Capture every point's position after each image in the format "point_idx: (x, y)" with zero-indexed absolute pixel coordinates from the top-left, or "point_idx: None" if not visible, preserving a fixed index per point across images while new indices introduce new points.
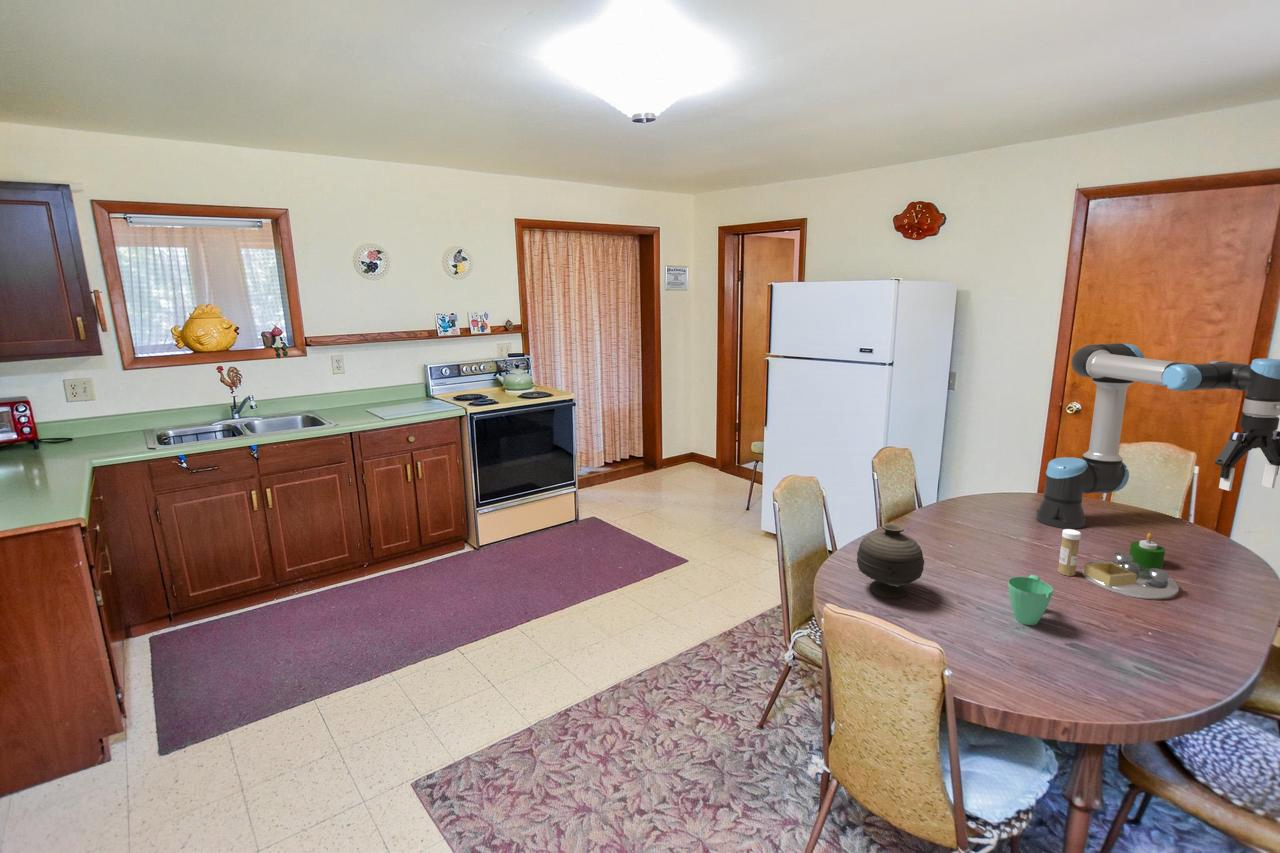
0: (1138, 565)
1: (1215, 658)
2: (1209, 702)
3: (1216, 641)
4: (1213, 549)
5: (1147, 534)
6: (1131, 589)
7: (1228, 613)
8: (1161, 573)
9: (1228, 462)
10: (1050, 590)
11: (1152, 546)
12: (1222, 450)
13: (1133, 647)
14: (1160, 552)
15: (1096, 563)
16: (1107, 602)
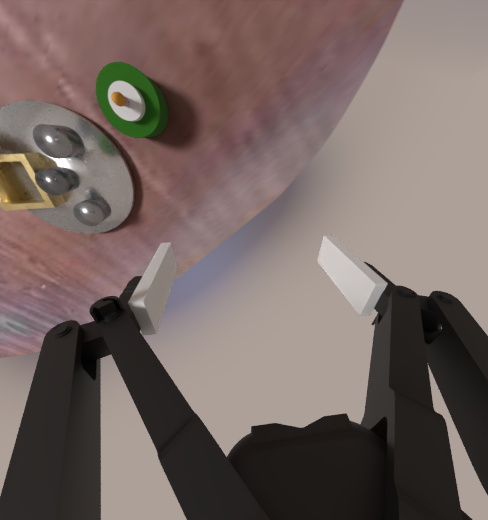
0: (61, 190)
1: (85, 316)
2: None
3: None
4: (325, 63)
5: (111, 95)
6: (52, 217)
7: None
8: (87, 220)
9: (97, 368)
10: None
11: (126, 119)
12: (22, 423)
13: (16, 303)
14: (139, 137)
15: None
16: (14, 230)
